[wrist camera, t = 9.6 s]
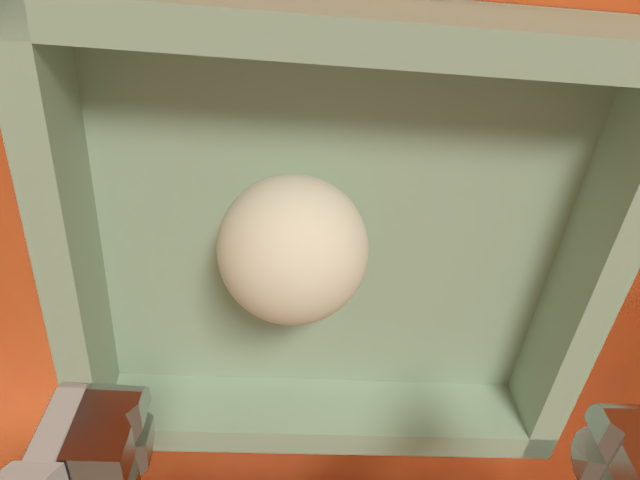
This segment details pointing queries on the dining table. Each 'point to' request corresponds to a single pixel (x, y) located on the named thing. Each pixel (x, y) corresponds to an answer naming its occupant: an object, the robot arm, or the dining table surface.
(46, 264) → the tray
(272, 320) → the ball
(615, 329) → the dining table surface
